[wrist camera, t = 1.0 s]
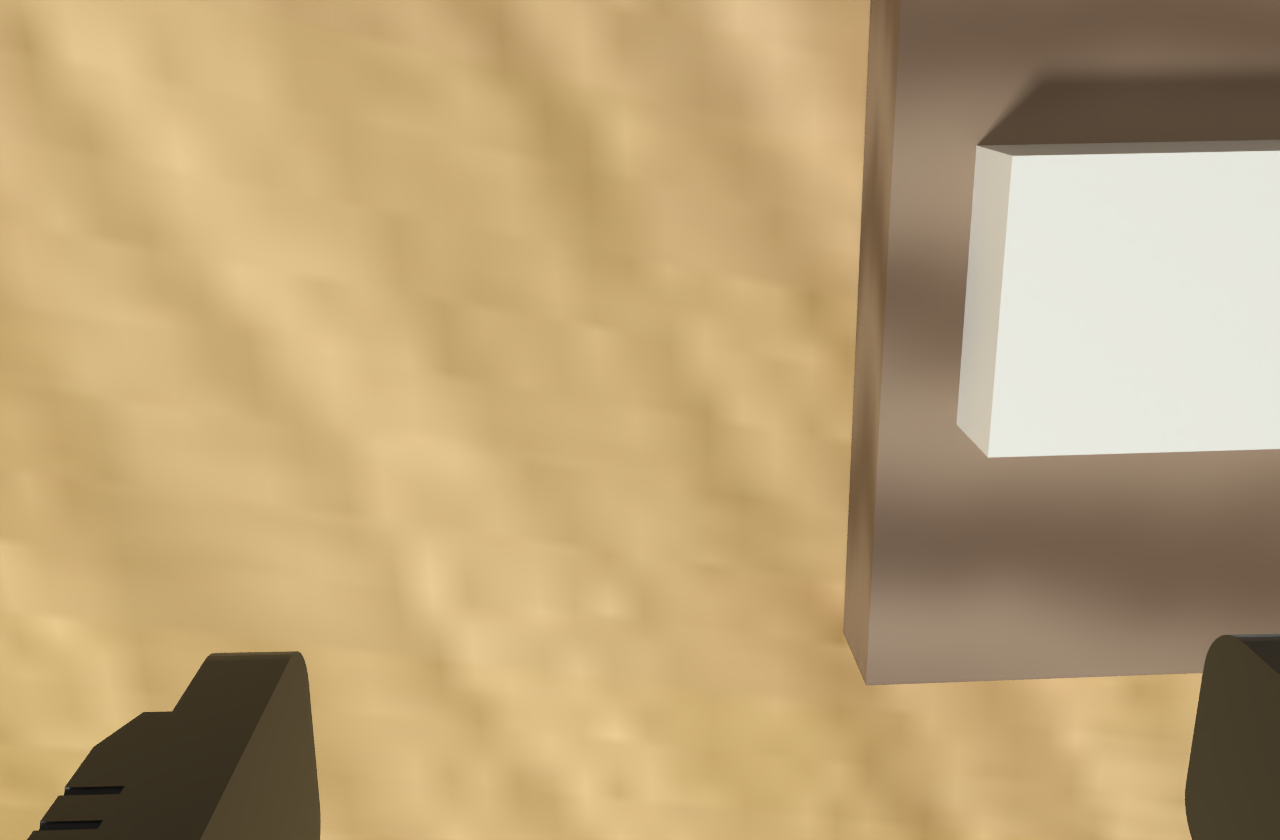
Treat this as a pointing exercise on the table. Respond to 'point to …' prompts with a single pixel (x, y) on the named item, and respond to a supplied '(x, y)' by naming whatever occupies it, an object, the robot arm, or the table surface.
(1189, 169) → the white flat block
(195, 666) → the table surface
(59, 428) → the table surface
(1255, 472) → the deck
